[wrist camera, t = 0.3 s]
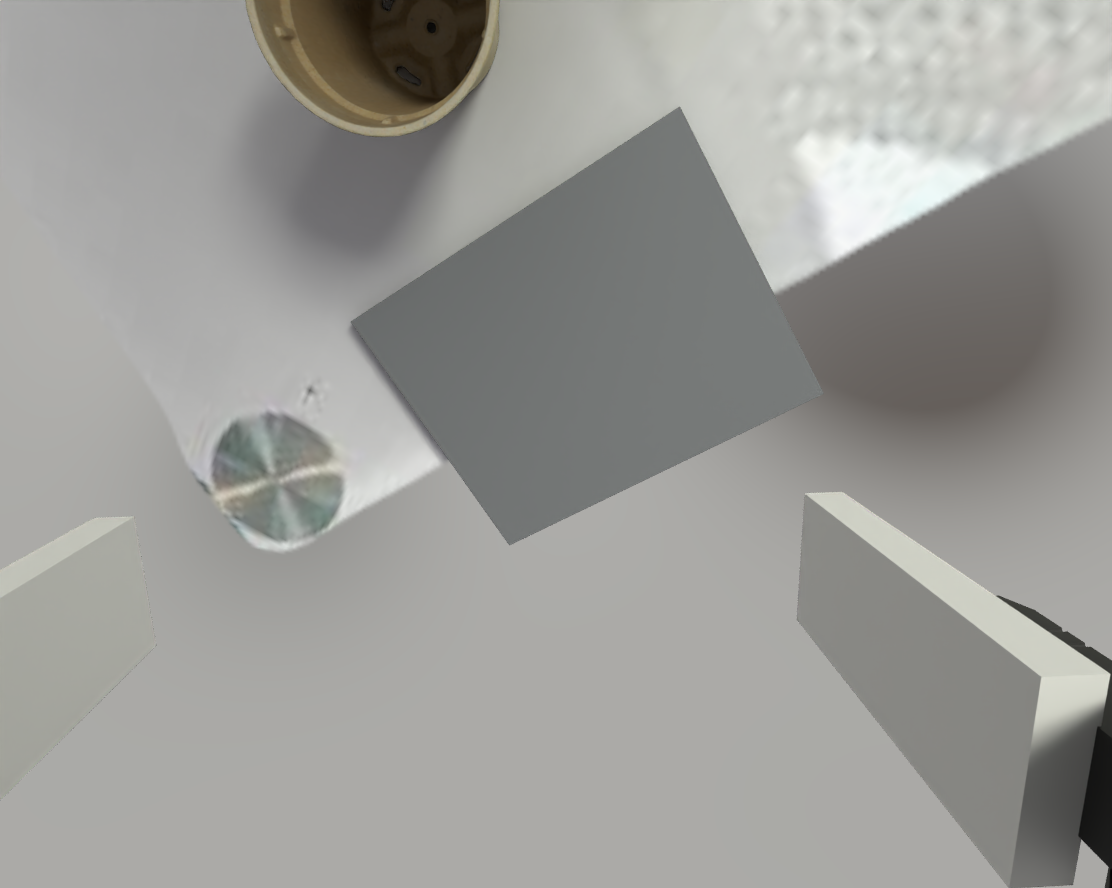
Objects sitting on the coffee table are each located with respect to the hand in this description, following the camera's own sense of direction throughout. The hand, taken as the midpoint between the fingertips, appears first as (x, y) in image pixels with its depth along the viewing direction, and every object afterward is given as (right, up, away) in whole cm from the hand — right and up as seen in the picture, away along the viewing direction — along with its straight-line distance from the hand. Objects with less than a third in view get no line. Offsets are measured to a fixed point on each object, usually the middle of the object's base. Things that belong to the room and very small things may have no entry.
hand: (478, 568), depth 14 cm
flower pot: (-4, +22, +19) cm, 30 cm away
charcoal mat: (+3, +7, +24) cm, 26 cm away
